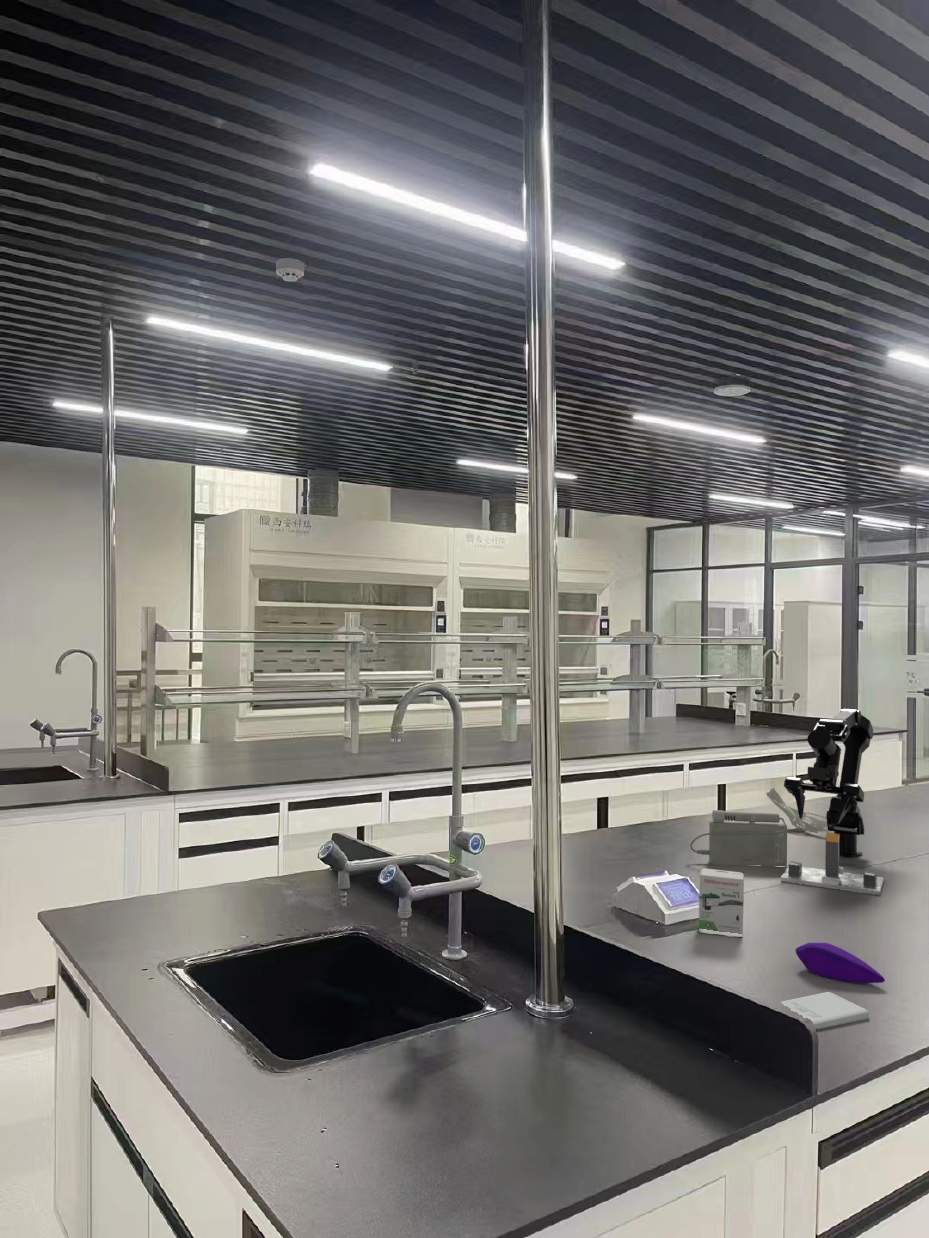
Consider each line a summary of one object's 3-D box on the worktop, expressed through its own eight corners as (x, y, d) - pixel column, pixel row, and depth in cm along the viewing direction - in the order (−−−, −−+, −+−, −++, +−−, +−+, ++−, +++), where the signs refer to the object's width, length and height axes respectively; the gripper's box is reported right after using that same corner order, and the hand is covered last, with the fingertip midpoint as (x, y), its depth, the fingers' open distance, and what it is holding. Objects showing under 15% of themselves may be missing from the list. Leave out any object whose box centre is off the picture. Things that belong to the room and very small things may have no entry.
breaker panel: (789, 868, 222) (789, 854, 222) (883, 881, 212) (883, 866, 212) (780, 881, 210) (780, 866, 210) (879, 895, 199) (880, 879, 199)
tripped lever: (826, 873, 213) (827, 832, 213) (839, 875, 212) (839, 833, 212) (825, 876, 210) (825, 834, 210) (837, 878, 209) (838, 836, 209)
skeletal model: (841, 840, 257) (778, 777, 268) (818, 860, 261) (757, 797, 271) (850, 830, 271) (790, 771, 281) (829, 849, 274) (770, 789, 285)
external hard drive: (869, 1021, 132) (808, 1034, 127) (827, 1000, 140) (768, 1012, 135) (869, 1010, 132) (808, 1023, 127) (827, 990, 140) (768, 1001, 135)
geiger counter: (784, 811, 228) (688, 807, 231) (790, 815, 222) (692, 811, 224) (783, 863, 228) (688, 859, 230) (790, 869, 221) (692, 865, 224)
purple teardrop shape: (883, 970, 142) (792, 939, 152) (879, 998, 142) (789, 966, 152) (890, 962, 146) (801, 933, 156) (886, 990, 146) (798, 959, 156)
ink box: (697, 933, 170) (698, 873, 171) (698, 925, 175) (699, 867, 175) (743, 938, 168) (744, 878, 168) (743, 930, 172) (743, 871, 173)
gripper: (782, 748, 226) (773, 805, 220) (858, 755, 215) (850, 815, 209) (794, 764, 234) (785, 819, 228) (867, 772, 222) (860, 830, 216)
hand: (818, 820), depth 220 cm, fingers open, 9 cm apart
